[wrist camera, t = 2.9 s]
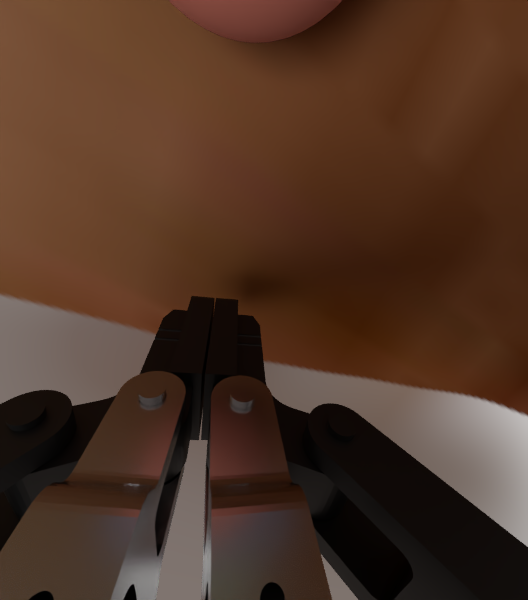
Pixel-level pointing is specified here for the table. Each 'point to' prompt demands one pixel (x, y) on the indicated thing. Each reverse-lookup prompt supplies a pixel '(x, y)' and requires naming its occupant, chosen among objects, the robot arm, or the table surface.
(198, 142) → the table surface
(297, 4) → the ball
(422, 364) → the table surface
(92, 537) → the robot arm
